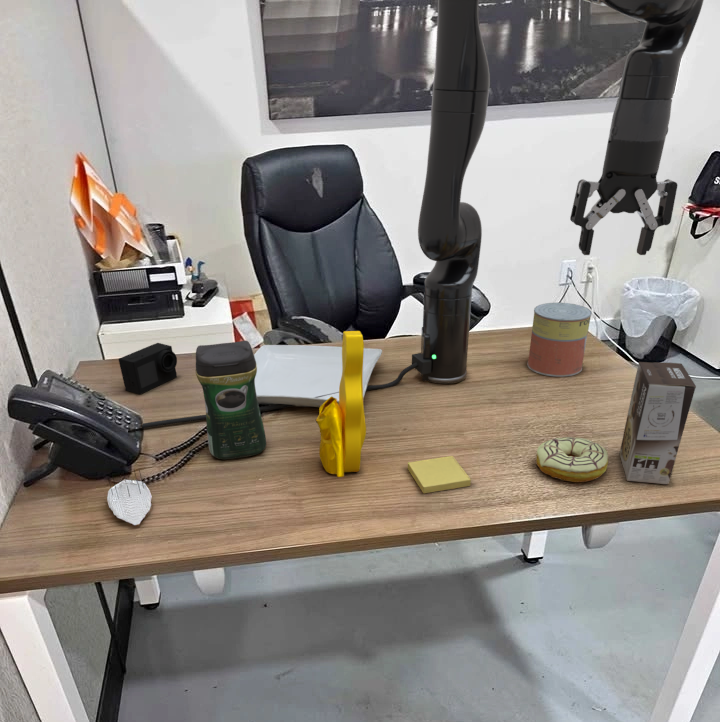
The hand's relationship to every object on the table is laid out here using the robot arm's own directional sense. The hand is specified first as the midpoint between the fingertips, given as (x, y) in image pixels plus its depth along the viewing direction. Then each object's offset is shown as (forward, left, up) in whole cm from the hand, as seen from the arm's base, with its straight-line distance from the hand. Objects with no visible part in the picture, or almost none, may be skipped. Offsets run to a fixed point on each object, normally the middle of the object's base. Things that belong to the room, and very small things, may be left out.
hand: (612, 254), depth 100 cm
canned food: (+2, +27, -30) cm, 40 cm away
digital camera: (-82, +21, -30) cm, 90 cm away
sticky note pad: (-27, -17, -29) cm, 44 cm away
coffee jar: (-60, -7, -30) cm, 68 cm away
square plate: (-50, +19, -30) cm, 61 cm away
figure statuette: (-42, -13, -30) cm, 53 cm away
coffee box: (+5, -16, -30) cm, 34 cm away
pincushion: (-73, -24, -30) cm, 83 cm away
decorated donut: (-6, -15, -30) cm, 34 cm away
